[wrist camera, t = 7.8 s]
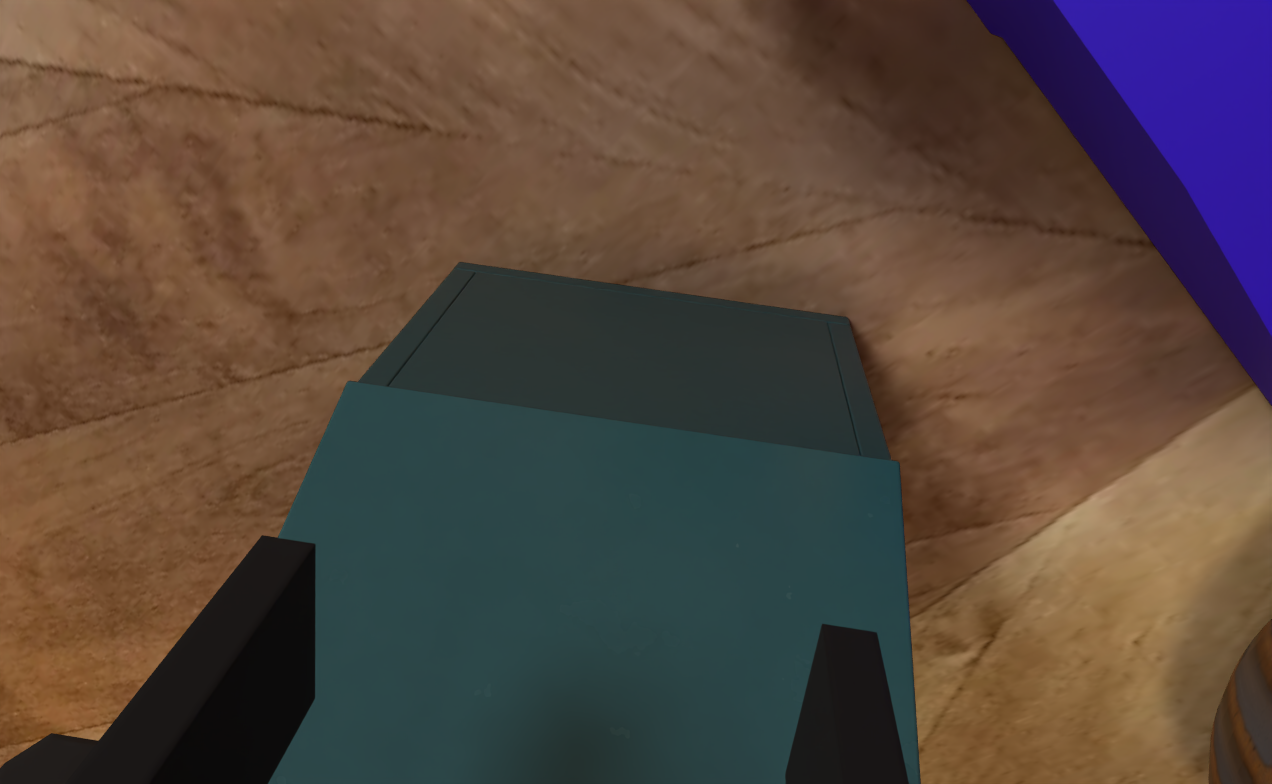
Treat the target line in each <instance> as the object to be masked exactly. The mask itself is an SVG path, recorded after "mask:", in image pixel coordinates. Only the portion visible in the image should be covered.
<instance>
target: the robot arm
mask: <svg viewBox="0 0 1272 784" xmlns="http://www.w3.org/2000/svg"><path fill="white" fill-rule="evenodd" d="M315 578H316V544H314V543H307V542H301V541H294V540H288V539H282V538H275V537H269V536H263V535H262V536H261V538H260V539H259V540H258V541H257V543H256V544H255V545H254V546H253V548H252V549H251V550H250V551H249V553H248V554H247V555H246V556H245V558H244V559H243V560H242V561H241V563H240V564H239V565H238V566H237V568H236V569H235V570H234V571H233V573H232V574H231V575H230V576H229V578H228V579H227V580H226V582H225V583H224V584H223V585H222V587H221V588H220V589H219V590H218V592H217V593H216V594H215V595H214V597H213V598H212V599H211V600H210V602H209V603H208V604H207V605H206V607H205V608H204V609H203V610H202V612H201V613H200V614H199V615H198V617H197V618H196V619H195V620H194V622H193V623H192V624H191V625H190V627H189V628H188V629H187V631H186V632H185V633H184V634H183V636H182V637H181V638H180V639H179V641H178V642H177V643H176V644H175V646H174V647H173V648H172V649H171V651H170V652H169V653H168V654H167V656H166V657H165V658H164V659H163V661H162V662H161V663H160V664H159V666H158V667H157V668H156V669H155V671H154V672H153V673H152V675H151V676H150V677H149V678H148V680H147V681H146V682H145V683H144V685H143V686H142V687H141V688H140V690H139V691H138V692H137V693H136V695H135V696H134V697H133V698H132V700H131V701H130V702H129V703H128V705H127V706H126V707H125V708H124V710H123V711H122V712H121V713H120V715H119V716H118V717H117V719H116V720H115V721H114V722H113V724H112V725H111V726H110V727H109V729H108V730H107V731H106V732H105V734H104V735H103V736H102V737H101V739H100V740H99V741H96V740H90V739H83V738H77V737H71V736H65V735H59V734H53V733H51V734H50V735H48V736H47V737H45V738H43V739H42V740H40V741H39V742H37V743H36V744H34V745H33V746H31V747H29V748H28V749H26V750H25V751H23V752H22V753H20V754H18V755H17V756H15V757H14V758H12V759H11V760H9V761H8V762H6V763H5V764H4V765H3V766H2V767H1V768H0V784H268V783H269V781H270V779H271V777H272V776H273V774H274V772H275V770H276V768H277V767H278V765H279V763H280V761H281V759H282V757H283V756H284V754H285V752H286V750H287V748H288V747H289V745H290V743H291V741H292V739H293V738H294V736H295V734H296V732H297V730H298V729H299V727H300V725H301V723H302V721H303V719H304V718H305V716H306V714H307V712H308V710H309V709H310V707H311V705H312V703H313V701H314V700H315ZM785 780H786V784H909V781H908V776H907V772H906V767H905V762H904V758H903V753H902V748H901V743H900V739H899V734H898V729H897V724H896V720H895V715H894V710H893V705H892V701H891V696H890V691H889V687H888V682H887V677H886V672H885V668H884V663H883V658H882V653H881V649H880V644H879V639H878V635H877V632H872V631H866V630H859V629H853V628H847V627H840V626H834V625H828V624H822V626H821V630H820V634H819V638H818V642H817V646H816V650H815V654H814V658H813V663H812V667H811V671H810V675H809V679H808V683H807V687H806V691H805V695H804V699H803V703H802V707H801V711H800V715H799V720H798V724H797V728H796V732H795V736H794V740H793V744H792V748H791V752H790V756H789V760H788V764H787V768H786V772H785Z"/></svg>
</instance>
